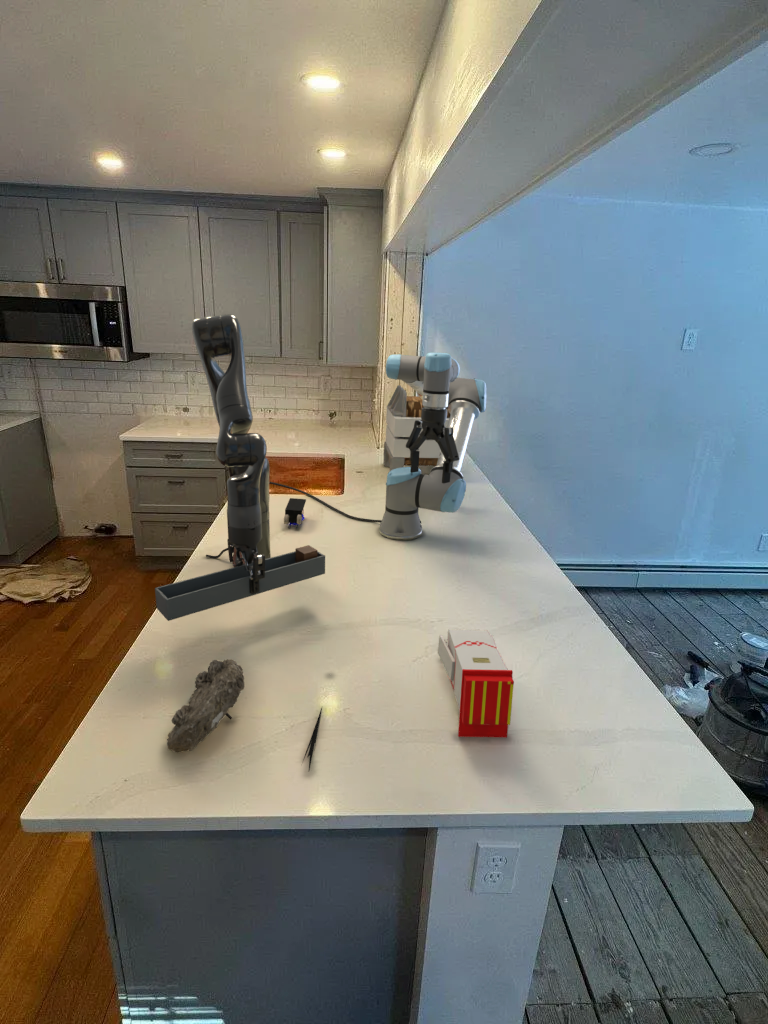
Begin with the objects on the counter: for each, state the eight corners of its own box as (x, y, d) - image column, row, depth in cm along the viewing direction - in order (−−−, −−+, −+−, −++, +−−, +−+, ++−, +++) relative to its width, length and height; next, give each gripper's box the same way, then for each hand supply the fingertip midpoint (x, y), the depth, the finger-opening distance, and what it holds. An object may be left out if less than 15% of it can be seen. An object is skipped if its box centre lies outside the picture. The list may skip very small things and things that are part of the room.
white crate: (382, 463, 289) (386, 382, 275) (445, 464, 293) (451, 384, 279) (390, 482, 257) (394, 392, 243) (460, 483, 261) (468, 394, 247)
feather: (331, 679, 122) (336, 673, 122) (307, 777, 96) (313, 769, 95) (324, 675, 122) (329, 669, 121) (298, 772, 95) (304, 764, 95)
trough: (156, 608, 124) (154, 587, 122) (310, 564, 149) (310, 547, 147) (168, 621, 119) (166, 599, 117) (325, 573, 144) (325, 555, 142)
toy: (488, 613, 130) (523, 677, 101) (484, 667, 133) (517, 744, 104) (435, 612, 130) (455, 676, 101) (432, 666, 133) (451, 743, 103)
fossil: (192, 660, 117) (244, 628, 112) (224, 691, 120) (276, 661, 115) (142, 746, 98) (202, 712, 93) (182, 779, 101) (242, 748, 96)
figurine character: (302, 534, 199) (307, 515, 212) (302, 515, 195) (306, 496, 209) (283, 533, 199) (289, 514, 212) (282, 514, 195) (288, 496, 209)
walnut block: (295, 570, 144) (295, 548, 142) (308, 566, 146) (308, 545, 144) (304, 575, 141) (304, 553, 139) (317, 571, 144) (317, 550, 142)
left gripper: (214, 515, 131) (218, 579, 136) (244, 534, 121) (247, 603, 126) (244, 509, 135) (247, 572, 141) (275, 527, 125) (276, 594, 131)
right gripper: (396, 402, 172) (393, 469, 180) (457, 415, 155) (451, 489, 162) (414, 400, 177) (410, 466, 184) (475, 413, 160) (468, 485, 167)
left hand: (247, 586), depth 134 cm, fingers closed on trough, 6 cm apart
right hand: (429, 477), depth 173 cm, fingers open, 13 cm apart
